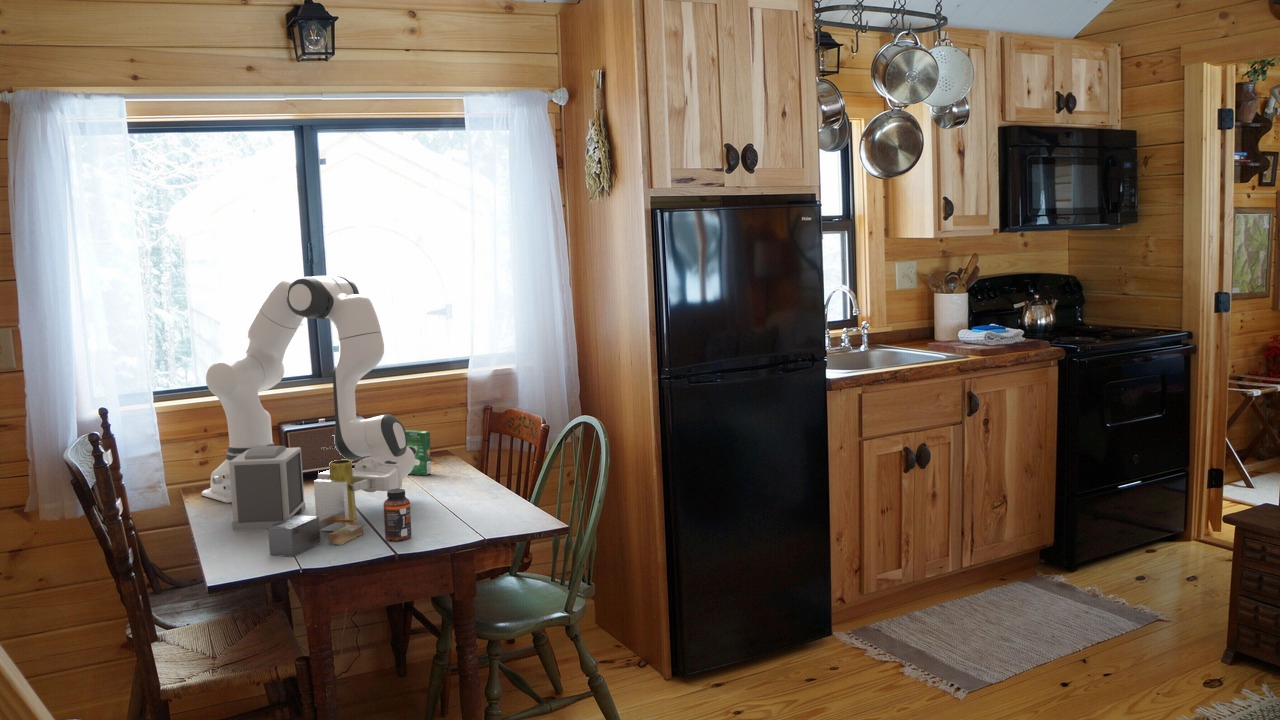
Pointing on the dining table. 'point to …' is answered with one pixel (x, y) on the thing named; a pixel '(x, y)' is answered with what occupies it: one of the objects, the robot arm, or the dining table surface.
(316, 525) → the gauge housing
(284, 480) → the grey box
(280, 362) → the robot arm
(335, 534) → the rail
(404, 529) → the supplement bottle
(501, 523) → the dining table surface
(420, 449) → the coffee box
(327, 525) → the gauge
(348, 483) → the vase
